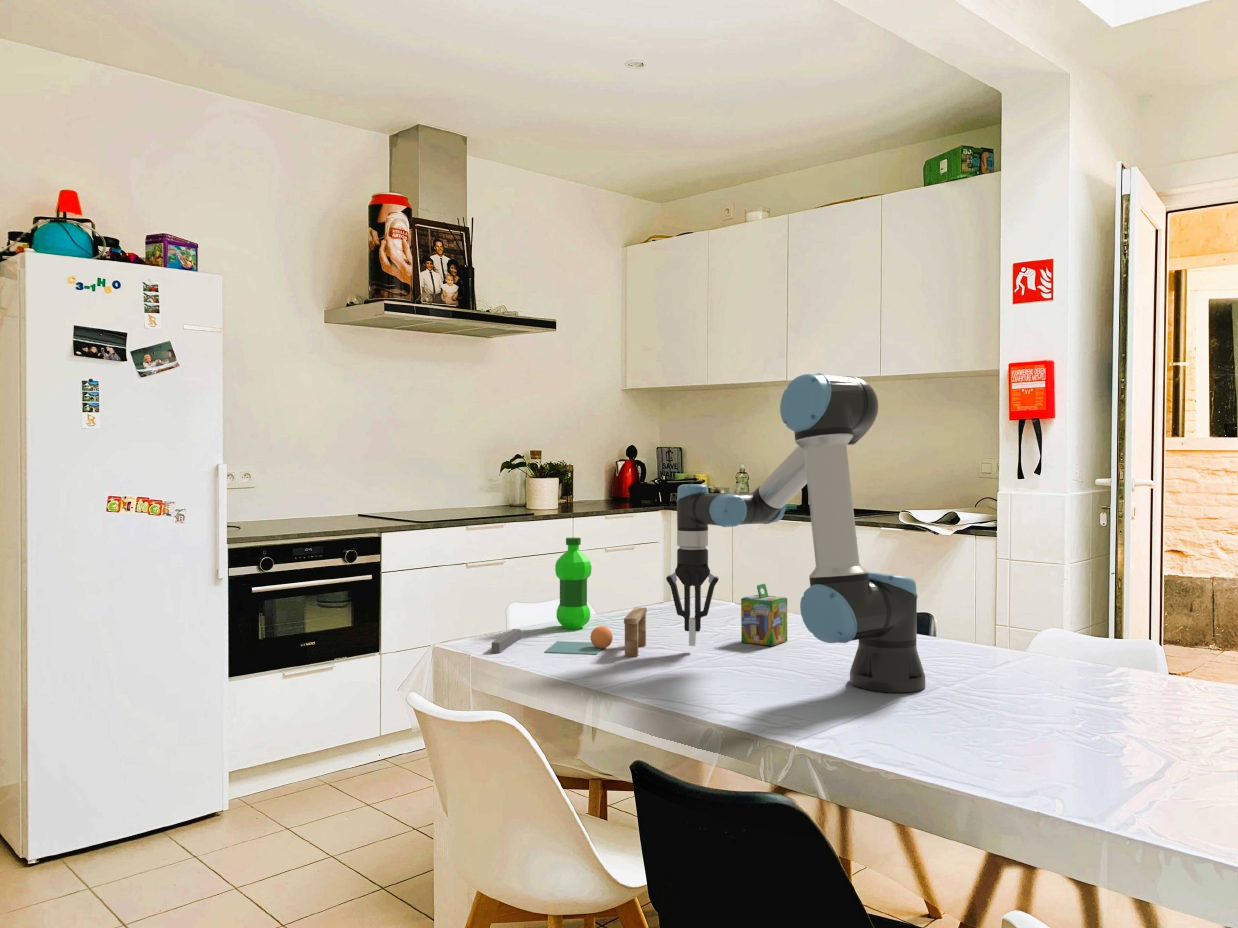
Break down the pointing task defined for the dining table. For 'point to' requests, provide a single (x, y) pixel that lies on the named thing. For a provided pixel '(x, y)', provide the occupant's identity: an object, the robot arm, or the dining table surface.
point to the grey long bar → (506, 640)
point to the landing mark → (573, 648)
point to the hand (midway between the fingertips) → (692, 644)
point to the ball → (601, 637)
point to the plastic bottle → (573, 586)
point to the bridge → (635, 631)
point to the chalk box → (763, 618)
